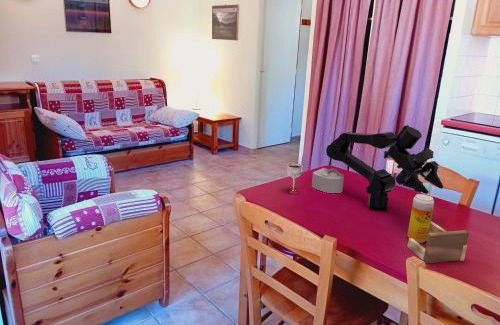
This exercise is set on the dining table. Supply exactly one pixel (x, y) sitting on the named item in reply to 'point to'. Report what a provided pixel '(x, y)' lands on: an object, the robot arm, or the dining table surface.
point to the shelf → (441, 245)
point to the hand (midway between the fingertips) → (435, 190)
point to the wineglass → (294, 171)
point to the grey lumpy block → (328, 180)
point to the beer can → (420, 217)
